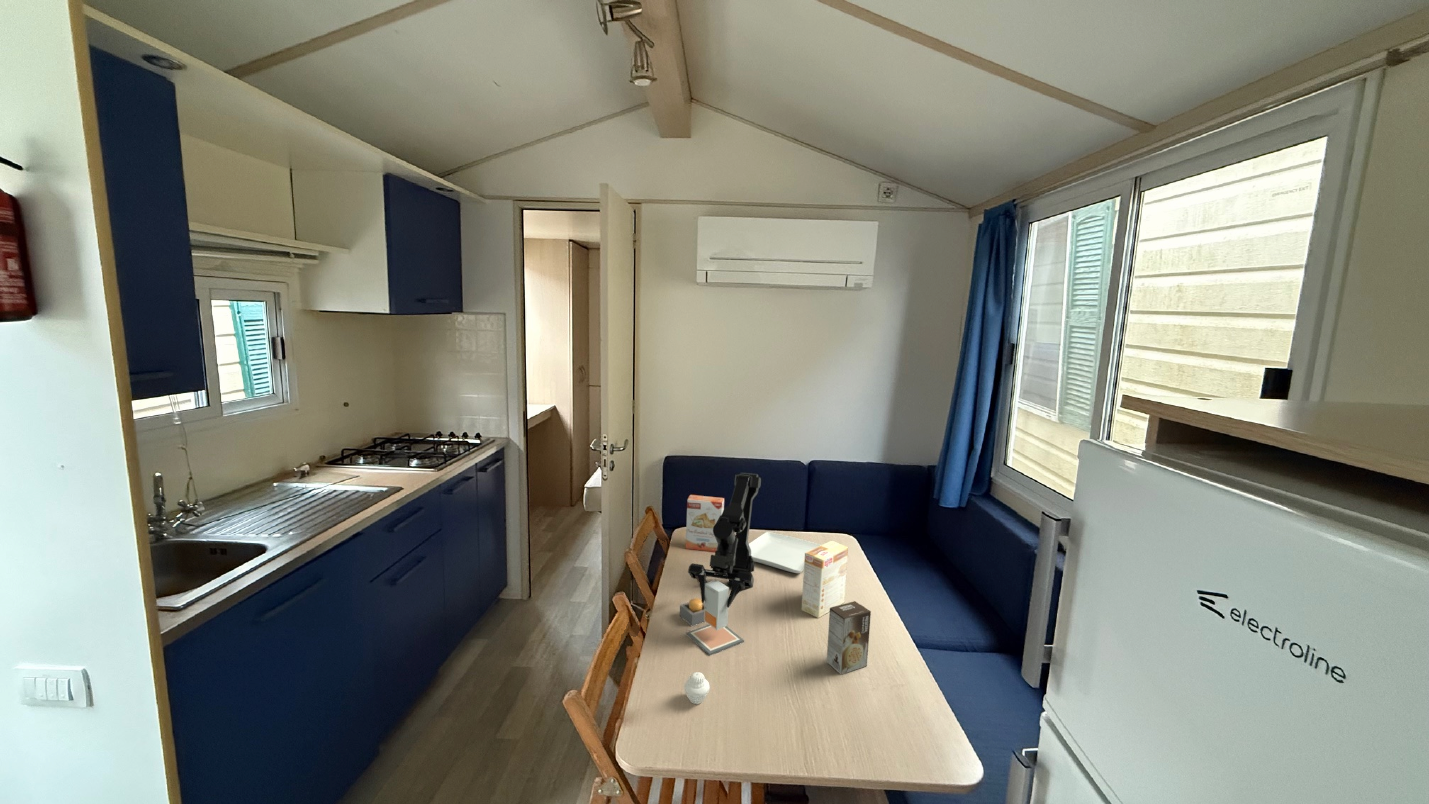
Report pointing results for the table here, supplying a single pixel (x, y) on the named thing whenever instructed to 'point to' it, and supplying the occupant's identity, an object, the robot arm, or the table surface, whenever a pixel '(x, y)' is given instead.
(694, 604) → the button
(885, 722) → the table surface
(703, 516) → the cracker box
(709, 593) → the skincare box
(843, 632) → the coffee box
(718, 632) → the picture board
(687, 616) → the button housing
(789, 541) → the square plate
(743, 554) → the robot arm
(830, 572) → the coffeecake box
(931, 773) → the table surface
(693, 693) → the white lidded jar
